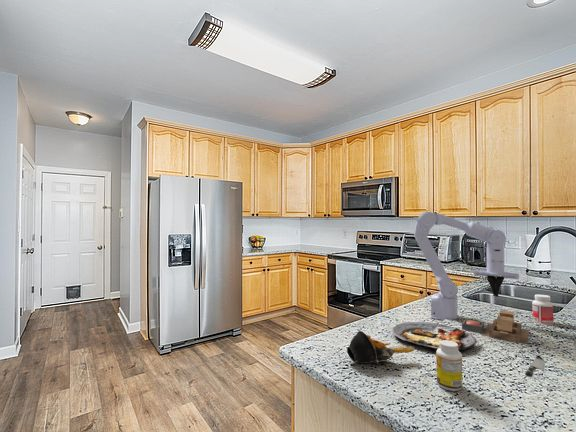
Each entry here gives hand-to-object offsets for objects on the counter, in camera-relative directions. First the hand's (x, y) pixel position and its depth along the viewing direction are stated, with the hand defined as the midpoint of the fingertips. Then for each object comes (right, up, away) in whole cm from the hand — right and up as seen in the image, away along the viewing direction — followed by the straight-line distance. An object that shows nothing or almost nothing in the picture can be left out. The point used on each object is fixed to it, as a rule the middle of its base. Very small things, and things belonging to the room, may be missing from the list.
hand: (495, 295), depth 121 cm
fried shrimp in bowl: (-55, -10, -33) cm, 64 cm away
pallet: (-5, -10, -13) cm, 18 cm away
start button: (-14, -10, -9) cm, 20 cm away
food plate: (-32, -11, -16) cm, 38 cm away
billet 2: (-8, -9, -16) cm, 21 cm away
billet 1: (-3, -9, -10) cm, 14 cm away
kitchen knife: (-12, -11, -35) cm, 39 cm away
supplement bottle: (-42, -10, -46) cm, 63 cm away
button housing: (-14, -10, -9) cm, 20 cm away
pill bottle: (+16, -11, -2) cm, 20 cm away
